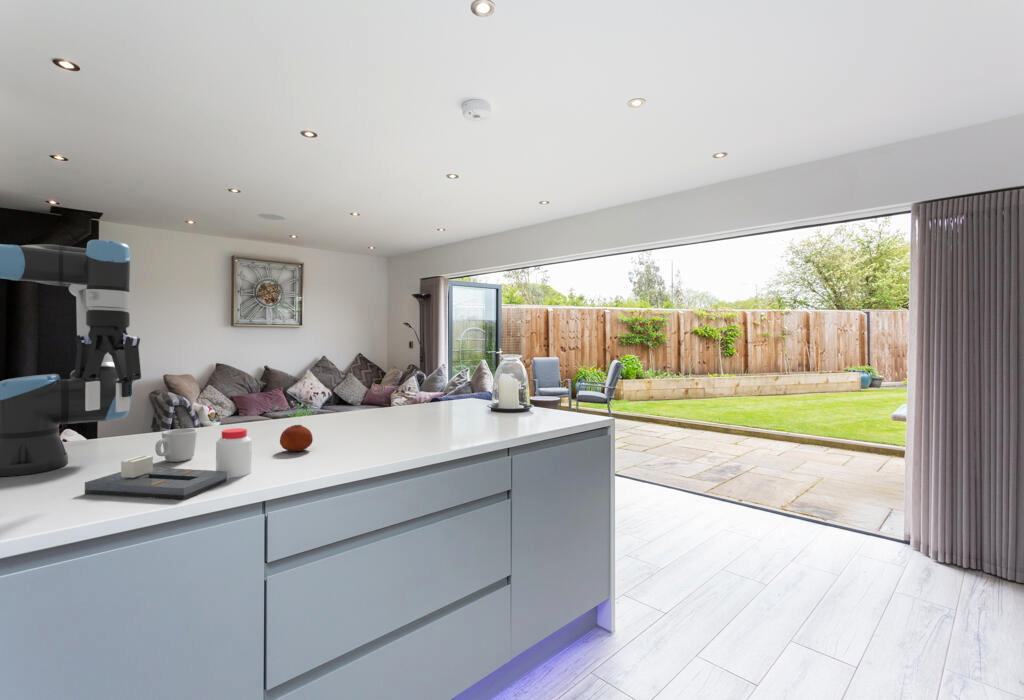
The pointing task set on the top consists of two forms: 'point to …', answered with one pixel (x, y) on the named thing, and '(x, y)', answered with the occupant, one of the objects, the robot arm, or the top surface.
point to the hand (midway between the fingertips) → (107, 410)
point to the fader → (137, 467)
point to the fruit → (296, 438)
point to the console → (158, 484)
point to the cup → (177, 444)
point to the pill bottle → (234, 452)
